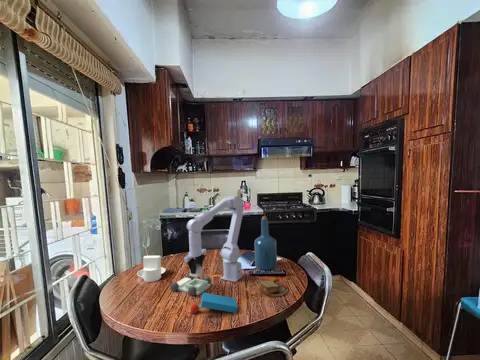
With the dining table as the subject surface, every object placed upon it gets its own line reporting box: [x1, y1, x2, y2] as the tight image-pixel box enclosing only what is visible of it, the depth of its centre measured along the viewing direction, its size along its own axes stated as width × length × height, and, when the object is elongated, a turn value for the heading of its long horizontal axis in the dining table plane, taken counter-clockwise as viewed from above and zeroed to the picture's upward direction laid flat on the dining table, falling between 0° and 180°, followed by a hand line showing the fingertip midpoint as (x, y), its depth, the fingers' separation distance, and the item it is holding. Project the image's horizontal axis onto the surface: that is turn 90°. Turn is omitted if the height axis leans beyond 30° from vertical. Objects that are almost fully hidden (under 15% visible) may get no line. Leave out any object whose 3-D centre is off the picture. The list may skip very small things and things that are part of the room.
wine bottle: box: [253, 215, 278, 271], centre depth 140 cm, size 14×13×30 cm
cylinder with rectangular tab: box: [142, 255, 162, 283], centre depth 129 cm, size 9×9×12 cm
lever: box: [190, 292, 238, 314], centre depth 96 cm, size 7×7×18 cm
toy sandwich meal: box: [259, 277, 289, 297], centre depth 110 cm, size 12×14×5 cm
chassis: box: [170, 272, 212, 297], centre depth 116 cm, size 16×13×4 cm
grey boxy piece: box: [189, 264, 203, 278], centre depth 115 cm, size 4×4×5 cm
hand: (196, 271), depth 115 cm, fingers closed on grey boxy piece, 4 cm apart
